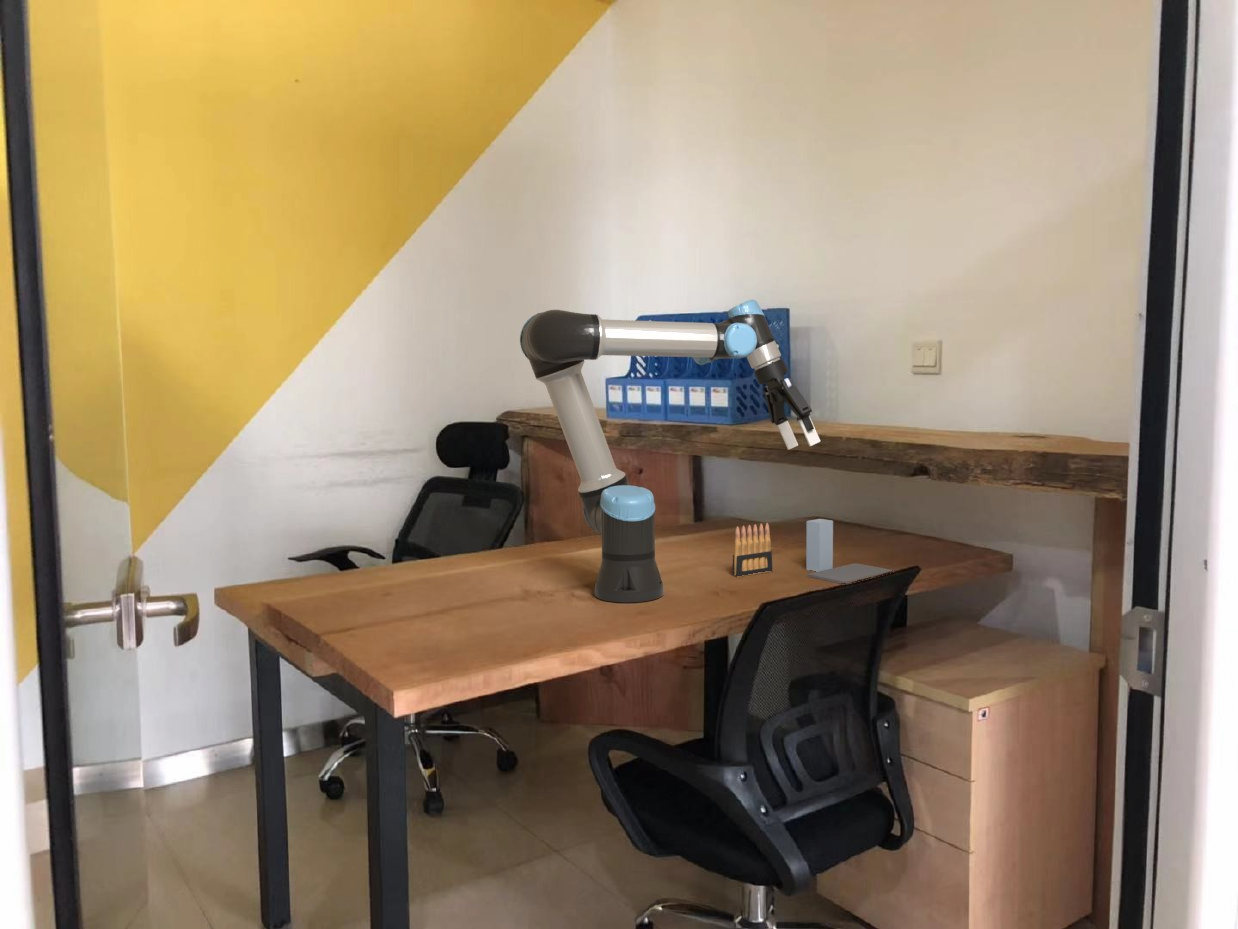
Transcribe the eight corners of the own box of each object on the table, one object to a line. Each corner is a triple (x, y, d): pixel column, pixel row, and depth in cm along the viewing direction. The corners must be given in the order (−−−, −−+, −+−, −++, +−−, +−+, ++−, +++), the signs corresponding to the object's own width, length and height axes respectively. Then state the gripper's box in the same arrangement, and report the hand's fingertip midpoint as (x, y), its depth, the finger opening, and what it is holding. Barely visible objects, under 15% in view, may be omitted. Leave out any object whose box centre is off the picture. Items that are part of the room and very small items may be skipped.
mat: (845, 584, 214) (845, 582, 214) (807, 576, 222) (807, 574, 222) (893, 572, 225) (893, 570, 225) (855, 565, 233) (855, 563, 233)
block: (819, 572, 226) (819, 523, 225) (806, 569, 230) (806, 521, 228) (832, 569, 230) (833, 520, 228) (819, 566, 233) (819, 518, 231)
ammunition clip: (736, 577, 223) (736, 527, 222) (732, 575, 225) (731, 526, 223) (772, 571, 228) (772, 522, 227) (767, 570, 230) (767, 521, 229)
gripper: (801, 349, 212) (839, 435, 213) (763, 365, 236) (797, 442, 237) (772, 362, 210) (810, 449, 211) (737, 377, 235) (771, 455, 236)
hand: (803, 445), depth 224 cm, fingers open, 13 cm apart
